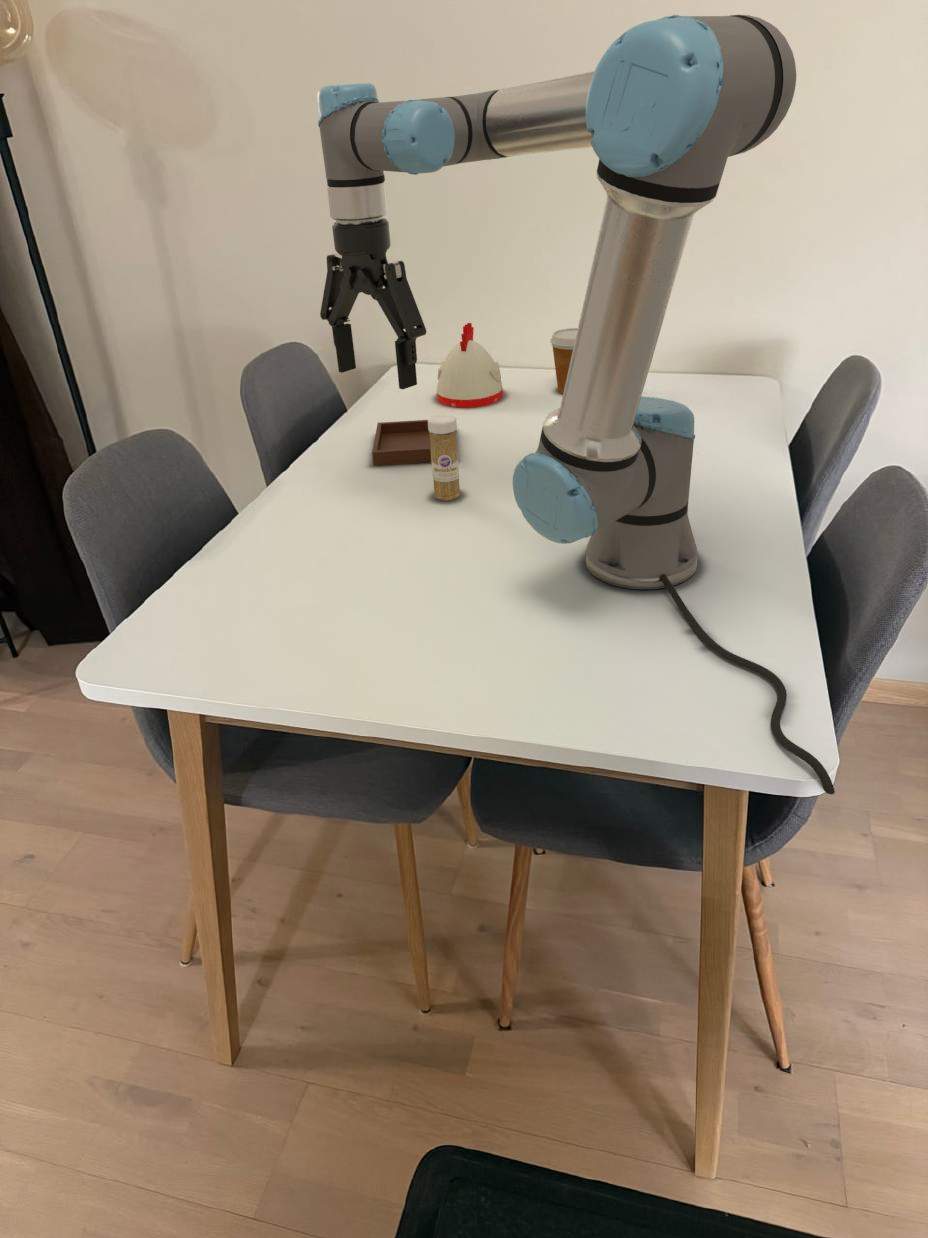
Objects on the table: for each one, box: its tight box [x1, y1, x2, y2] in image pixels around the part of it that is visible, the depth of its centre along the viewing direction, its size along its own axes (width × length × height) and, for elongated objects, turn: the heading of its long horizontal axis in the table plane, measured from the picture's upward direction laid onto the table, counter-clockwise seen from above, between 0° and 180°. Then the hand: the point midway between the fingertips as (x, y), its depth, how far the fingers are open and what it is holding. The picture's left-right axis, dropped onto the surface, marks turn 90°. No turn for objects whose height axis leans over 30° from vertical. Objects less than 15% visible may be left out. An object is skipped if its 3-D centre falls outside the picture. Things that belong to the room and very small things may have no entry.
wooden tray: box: [371, 419, 432, 467], centre depth 168 cm, size 16×15×3 cm
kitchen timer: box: [436, 322, 503, 409], centre depth 189 cm, size 14×14×15 cm
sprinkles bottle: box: [427, 413, 462, 502], centre depth 146 cm, size 5×5×14 cm
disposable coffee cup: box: [550, 327, 578, 395], centre depth 189 cm, size 10×10×12 cm
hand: (376, 378), depth 130 cm, fingers open, 13 cm apart
